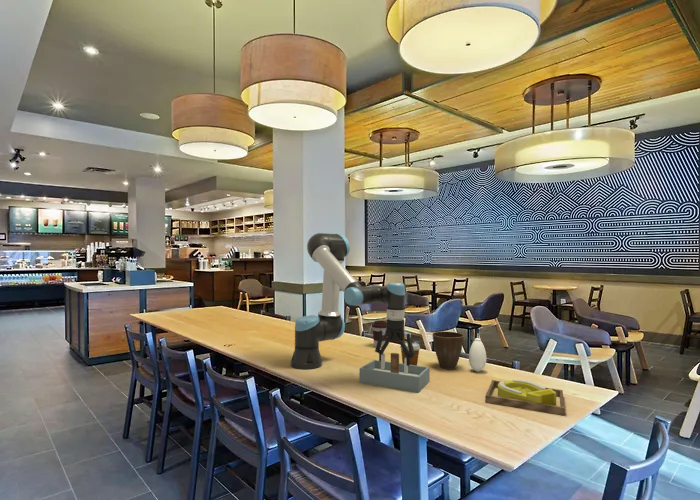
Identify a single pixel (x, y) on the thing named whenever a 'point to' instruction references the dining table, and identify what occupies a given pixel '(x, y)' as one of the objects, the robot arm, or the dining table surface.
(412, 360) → the disposable coffee cup
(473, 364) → the white bulb air blower
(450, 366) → the plant pot
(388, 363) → the tray
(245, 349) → the dining table surface
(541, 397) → the yellow-green curved block
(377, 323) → the coffee cup
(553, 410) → the brown wooden frame
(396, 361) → the dowel
